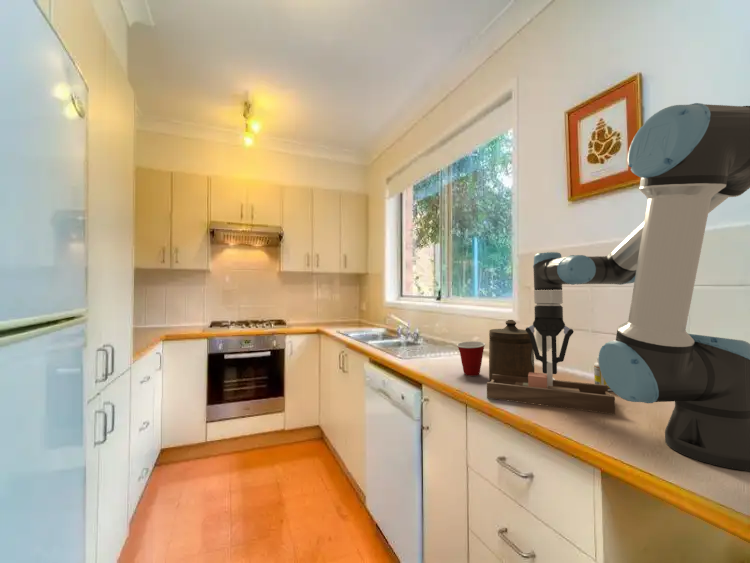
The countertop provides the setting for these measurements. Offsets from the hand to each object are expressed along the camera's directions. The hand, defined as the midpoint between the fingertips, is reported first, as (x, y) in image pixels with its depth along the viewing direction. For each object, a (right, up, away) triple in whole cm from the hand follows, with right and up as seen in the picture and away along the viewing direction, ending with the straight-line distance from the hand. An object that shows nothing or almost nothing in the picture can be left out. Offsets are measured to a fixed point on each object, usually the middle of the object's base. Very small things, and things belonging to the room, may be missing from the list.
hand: (549, 384), depth 101 cm
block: (-3, -2, +1) cm, 3 cm away
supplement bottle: (+23, -5, +10) cm, 26 cm away
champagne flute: (+10, -5, +24) cm, 27 cm away
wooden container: (-4, -5, +19) cm, 20 cm away
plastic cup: (-15, -6, +31) cm, 35 cm away
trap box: (-1, -4, 0) cm, 5 cm away
